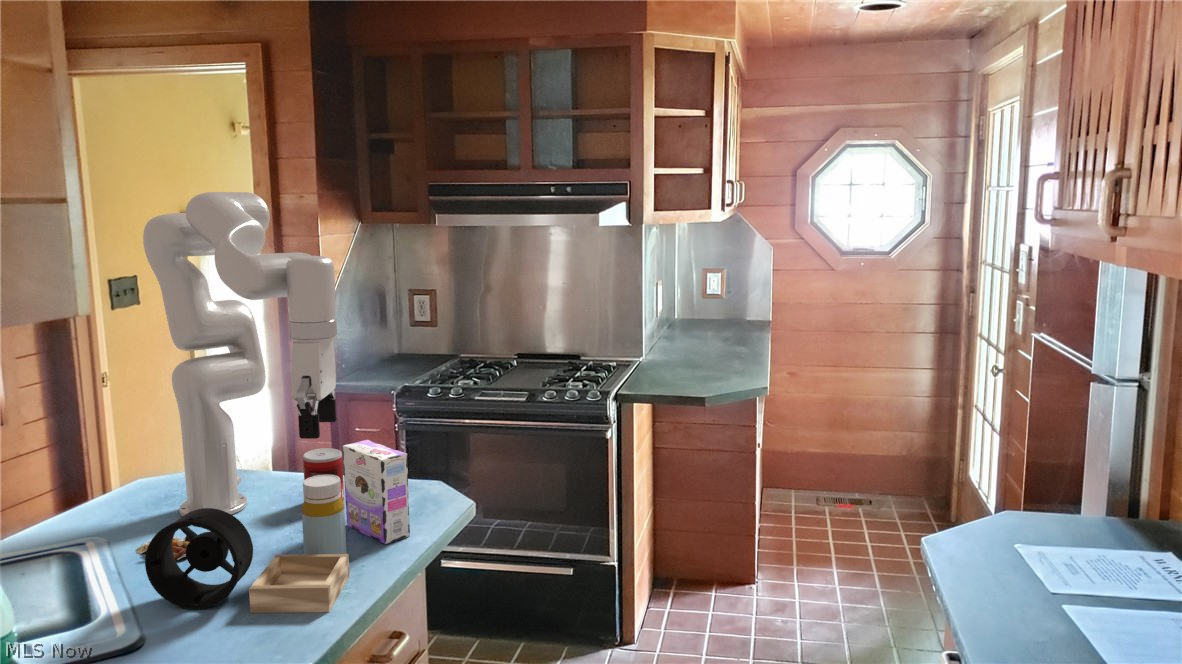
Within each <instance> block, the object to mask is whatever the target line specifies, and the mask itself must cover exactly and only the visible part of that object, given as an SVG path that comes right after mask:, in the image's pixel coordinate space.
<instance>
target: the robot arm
mask: <svg viewBox="0 0 1182 664" xmlns="http://www.w3.org/2000/svg"><path fill="white" fill-rule="evenodd" d="M270 216H271V215H270V210H269V207H268V205H267V203H266V202H265V200H264V199H263V198H262V197H260V196H259V195H257V194H255V193H252V192H248V191H246V192H243V191H242V192H241V191H207V192H202V193H198V194H197V195H194V196H193V197H192V198H191V199H190V200H189V201H188V203H187V204H186V207H185V212H174V213H173V212H171V213H165V214H161V215H156V216H155V217H152V218H150V219H149V220H148V221H147V223H146V224H145V226H144V228H143V232H142V233H143V235H142V240H143V241H142V243H143V249H144V254H145V256H146V259H147V261H148V263H149V264H148V265H149V266H150V268H151V270H152V271H153V274H154V275H155V277H156V280H157V281H158V284H159V287H160V292H161V296H162V301H163V306H164V310H165V315H166V319H167V320H166V321H167V325H168V329H169V334H170V336H171V340H172V342H173V344H174V346H175V347H176V348H177V349H179V350H181V351H183V352H193V351H204V350H212V349H219V348H225V347H227V349H228V351H229V352H227V353H220V354H211V355H205V356H198V357H193V358H189V359H185V360H184V361H181V362H180V363H178V364H177V366H175V368H174V369H173V372H172V373H171V385H172V390H173V393H174V396H175V400H176V403H177V408H178V415H179V420H180V430H181V441H182V453H183V465H184V477H185V491H186V501H184V502H183V503H182V504H181V505H179V508H178V509H179V515H180V516H181V517H182V516H184V515H185V514H187V513H189V512H191V511H194V510H197V509H202V508H213V509H219V510H222V511H225V512H227V513H229V514H231V515H234V514H237V513H238V512H240V511H242V510H244V509H245V508H246V506H247V505H248V499H247V497H246V496H245V495H244V494H242V493H239V487H238V486H239V485H240V484H241V482H242V478H241V477H242V476H240V475H238V471H237V458H236V457H237V456H236V455H237V454H236V443H235V441H236V440H235V429H234V422H233V419H232V418H231V416H230V415H229V414H228V413H227V411H225V410H224V409H223V408H222V407H221V406H220V404H221V403H223V402H227V401H230V400H235V399H236V400H237V399H240V398H241V399H242V398H245V397H250V396H254V395H257V394H258V393H259V394H260V392H261V391H262V390H263V389H264V387H265V385H266V368H265V363H264V362H265V361H264V358H263V354H262V349H261V344H260V339H259V334H258V329H257V326H256V321H255V317H254V315H253V313H252V311H251V309H250V308H249V307H248V306H247V304H245V303H244V302H242V301H240V300H237V299H226V300H216V301H215V300H214V299H212V297H211V293H210V288H209V284H208V280H207V277H206V276H205V274H204V273H203V272H202V271H201V269H199V268H198V267H197V266H196V265H195V264H194V263H193V262H192V261H190V260H189V259H187V258H188V257H204V256H214V265H215V268H216V272H217V275H218V278H219V279H220V280H221V282H223V284H224V285H225V286H226V287H228V288H229V289H230V290H231V291H232V292H233V293H234V294H236V295H238V296H239V297H241V298H243V299H246V300H250V301H252V300H253V301H258V300H260V301H261V300H268V299H277V298H279V299H280V298H287V308H288V311H287V312H288V327H289V341H290V342H292V349H291V361H290V362H291V363H290V364H291V365H290V366H291V367H290V369H291V370H290V373H291V374H290V375H291V376H290V377H291V380H290V382H291V383H290V384H291V385H290V386H291V399H292V400H293V401H294V402H297V403H296V408H297V417H298V419H297V420H298V431H299V432H298V433H299V434H298V435H299V438H300V439H303V440H305V439H306V440H307V439H319V438H320V437H321V433H320V432H321V430H320V429H321V427H320V423H335V422H337V404H336V403H337V401H336V398H337V397H336V396H337V394H336V391H335V389H336V387H337V369H336V368H337V367H336V355H335V345H334V341H335V340H337V339H338V323H337V322H338V321H337V304H336V303H337V301H336V300H337V299H336V281H335V280H336V278H335V264H334V262H333V260H332V259H331V258H330V257H327V256H325V255H322V256H321V255H311V254H309V253H305V252H295V251H294V252H277V253H275V252H274V253H273V252H272V253H261V251H262V250H263V248H264V246H265V243H266V238H267V237H266V231H267V230H268V227H269V225H270V220H271V219H270ZM311 403H312V405H311Z"/></svg>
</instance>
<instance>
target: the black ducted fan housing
mask: <svg viewBox="0 0 1182 664" xmlns="http://www.w3.org/2000/svg"><path fill="white" fill-rule="evenodd" d="M191 526H192V527H195V528H196V527H197V528H201V529H203V530H207V531H205V532H201V533H199V534H197V533H196V532H195V531H193V530H192V528H190V527H191ZM179 530H180V531H181V532H182V533H183V534H184V535H185V537H186V536H187V537H188V538H189V539H190V540H191V541H190V542H189V544H188V545H187V548H186V557H185V558H186V560H187V562H188V564H189V566H188V567H187V568H186V570H185V571H183V570H182V569H181V567H180V566H179V565H178V562H177V560H175V558H174V556H173V551H172V541H173V538H175V534H176V532H177V531H179ZM150 541H151V542H150ZM150 541H149V542H150V543H149V545H148V548H147V551H145V557H144V567H145V572H146V576H147V578H148V581H149V582H150V585H151V586H152V588H153V589H154V590H155V591H156V593H157V594H158V595H160V597H162V598H163V600H166V601H167V602H169V603H170V604H172V605H174V606H177V607H179V608H183V609H187V610H203V609H208V608H211V607H214V606H217V605H218V604H220V603H222V602H223V601H224V600H225V599H226V598H228V596H230V594H231V593H232V591H233V590H234V589H235V588H236V586H237V584H238V582H240V580H241V579H242V578H243V577H244V576H245V575H246V574H247V572H248V570H249V568H250V567H251V564H252V562H253V557H254V545H253V541H252V537H251V535H250V532H249V531H248V529H247V528H246V527H245V525H244V524H243V522H241V521H240V520H239V518H237V517H235V515H234V514H229V513H227V512H225V511H222V510H219V509H213V508H202V509H197V510H194V511H191V512H189V513H187V514H185V515H184V516H181V517H179V518H178V519H177V520H175V521H174V522H172V523H169V524H167V525H166V526H164V527H163V528H161V529H160V530H159V531H157V533H156V534H155V535H154V536H153V537H152V539H151V540H150ZM229 553H230V555H231V559H232V562H233V565H232V564H231V563H230V562H229V561H228V560H226V559H227V558H228V554H229ZM219 567H221V568H222V569H223V570H224V571H226V572H227V573H228V574H230V575H231V577H230V579H229V580H228V581H225V582H222V583H219V584H208V583H202V582H200V581H199V580H198V581H197V580H195V579H193V578H192V577H190V576H189V574H190V573H191V572H192V571H194V569H195V570H197V571H199V572H204V573H206V572H213V571H215V570H217V569H218V568H219Z"/></svg>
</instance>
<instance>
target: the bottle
mask: <svg viewBox="0 0 1182 664" xmlns="http://www.w3.org/2000/svg"><path fill="white" fill-rule="evenodd" d="M302 490H303V503H302V506H301V521H302V523H301V525H302V539H303V540H302V541H303V554H348V551H347V536H346V535H347V534H346V516H345V515H346V514H345V513H346V512H345V511H346V508H345V503H344V501H343V500H342V498H341V480H340V478H339V477H338V476H335V475H317V476H313V477H310V478H307V479H305V480H304V479H303V482H302Z"/></svg>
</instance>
